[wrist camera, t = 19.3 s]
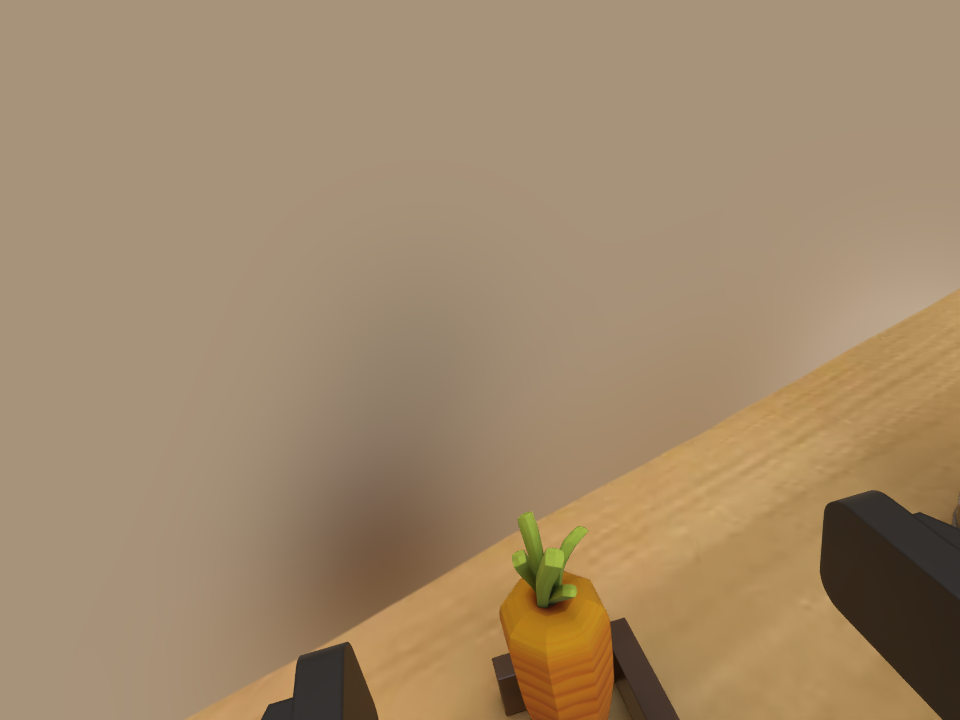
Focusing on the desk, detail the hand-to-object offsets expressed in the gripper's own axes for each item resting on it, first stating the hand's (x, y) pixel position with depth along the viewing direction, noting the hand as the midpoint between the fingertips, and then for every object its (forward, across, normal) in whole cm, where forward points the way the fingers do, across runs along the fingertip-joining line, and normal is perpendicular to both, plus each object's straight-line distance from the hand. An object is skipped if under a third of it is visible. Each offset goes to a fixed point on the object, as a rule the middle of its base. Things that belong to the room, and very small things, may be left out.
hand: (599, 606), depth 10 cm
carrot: (+12, -1, +24) cm, 27 cm away
